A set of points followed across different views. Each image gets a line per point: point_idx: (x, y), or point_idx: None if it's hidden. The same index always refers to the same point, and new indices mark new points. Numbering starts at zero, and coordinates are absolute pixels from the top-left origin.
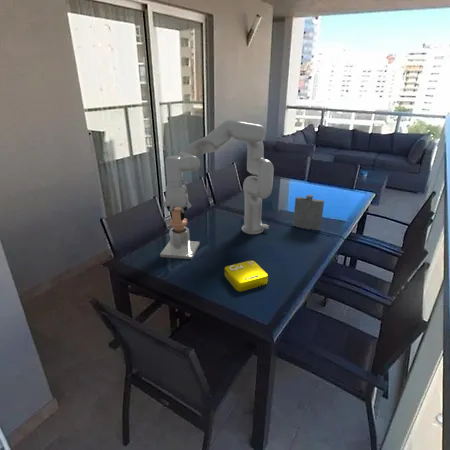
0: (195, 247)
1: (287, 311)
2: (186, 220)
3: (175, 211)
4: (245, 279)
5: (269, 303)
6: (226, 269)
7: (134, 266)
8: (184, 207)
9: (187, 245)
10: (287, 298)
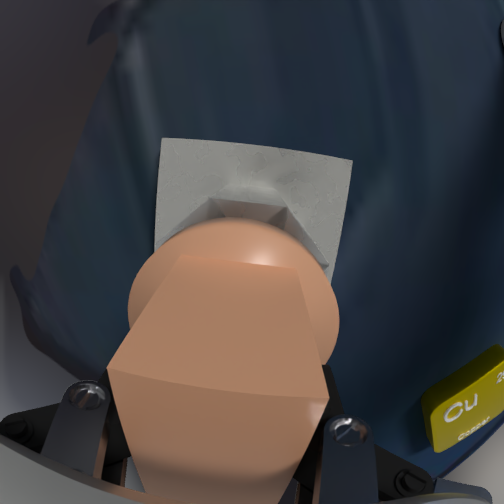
0: (335, 236)
1: (475, 449)
2: (331, 321)
3: (197, 497)
4: (457, 438)
5: (463, 445)
6: (434, 420)
7: (96, 364)
8: (364, 486)
9: None
10: (495, 424)
